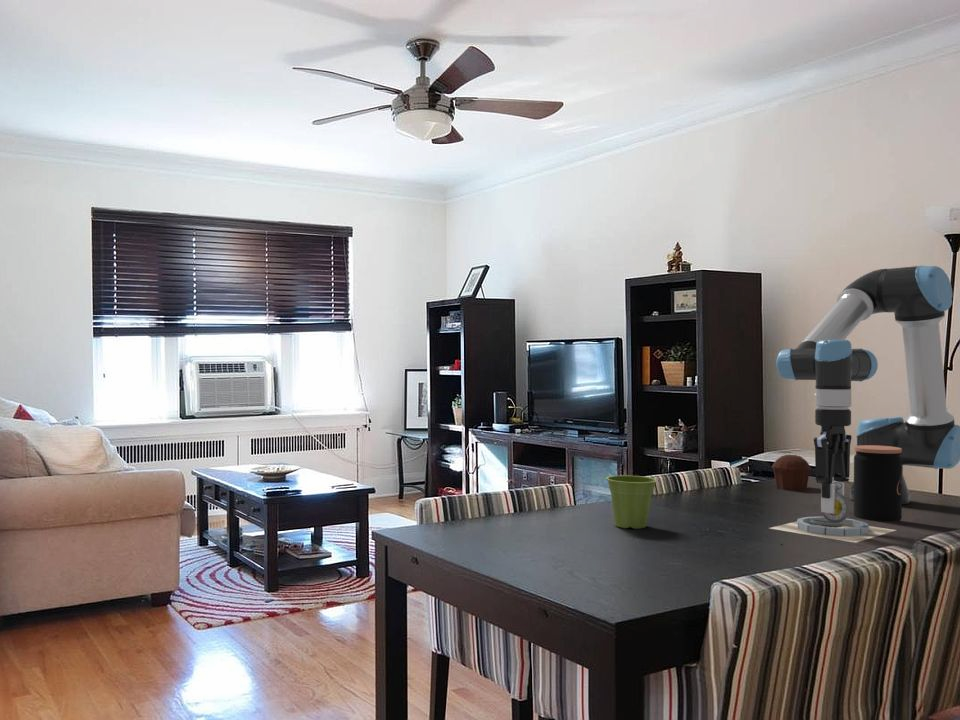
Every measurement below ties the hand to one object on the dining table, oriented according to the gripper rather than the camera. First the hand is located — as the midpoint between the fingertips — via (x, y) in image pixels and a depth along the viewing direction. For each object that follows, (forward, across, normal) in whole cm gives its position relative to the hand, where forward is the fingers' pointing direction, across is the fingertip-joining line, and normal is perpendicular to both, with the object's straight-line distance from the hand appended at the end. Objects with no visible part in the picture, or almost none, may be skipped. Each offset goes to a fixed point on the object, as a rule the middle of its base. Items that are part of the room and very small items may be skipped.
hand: (832, 511), depth 195 cm
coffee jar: (+5, -23, 0) cm, 24 cm away
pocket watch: (+3, +2, 0) cm, 4 cm away
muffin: (+5, -57, -41) cm, 70 cm away
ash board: (+5, 0, 0) cm, 5 cm away
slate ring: (+4, 0, 0) cm, 4 cm away
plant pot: (+5, +28, -35) cm, 45 cm away
